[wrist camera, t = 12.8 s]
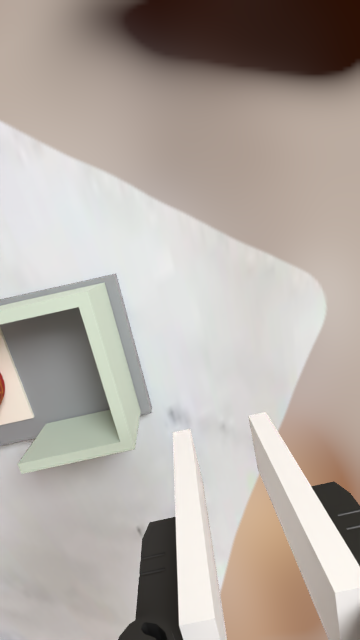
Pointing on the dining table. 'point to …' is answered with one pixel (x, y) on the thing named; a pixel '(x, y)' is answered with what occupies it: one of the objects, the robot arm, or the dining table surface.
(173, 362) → the dining table surface
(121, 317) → the base
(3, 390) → the canned food
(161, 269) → the dining table surface
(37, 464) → the housing
